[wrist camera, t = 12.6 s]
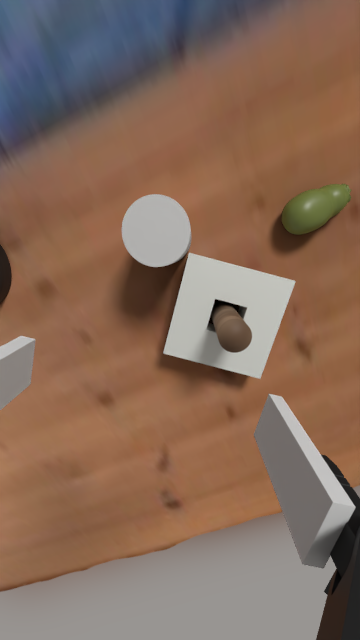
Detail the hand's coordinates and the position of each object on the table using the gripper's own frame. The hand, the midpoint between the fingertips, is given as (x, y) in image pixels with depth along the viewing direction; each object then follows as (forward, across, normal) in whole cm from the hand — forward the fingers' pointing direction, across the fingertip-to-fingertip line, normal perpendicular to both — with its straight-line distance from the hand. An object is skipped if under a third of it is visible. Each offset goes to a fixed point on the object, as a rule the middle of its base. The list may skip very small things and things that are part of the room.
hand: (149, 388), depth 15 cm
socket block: (+31, +9, -1) cm, 32 cm away
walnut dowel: (+31, +9, -1) cm, 32 cm away
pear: (+31, +17, +18) cm, 40 cm away
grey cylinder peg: (+32, -3, +9) cm, 33 cm away
